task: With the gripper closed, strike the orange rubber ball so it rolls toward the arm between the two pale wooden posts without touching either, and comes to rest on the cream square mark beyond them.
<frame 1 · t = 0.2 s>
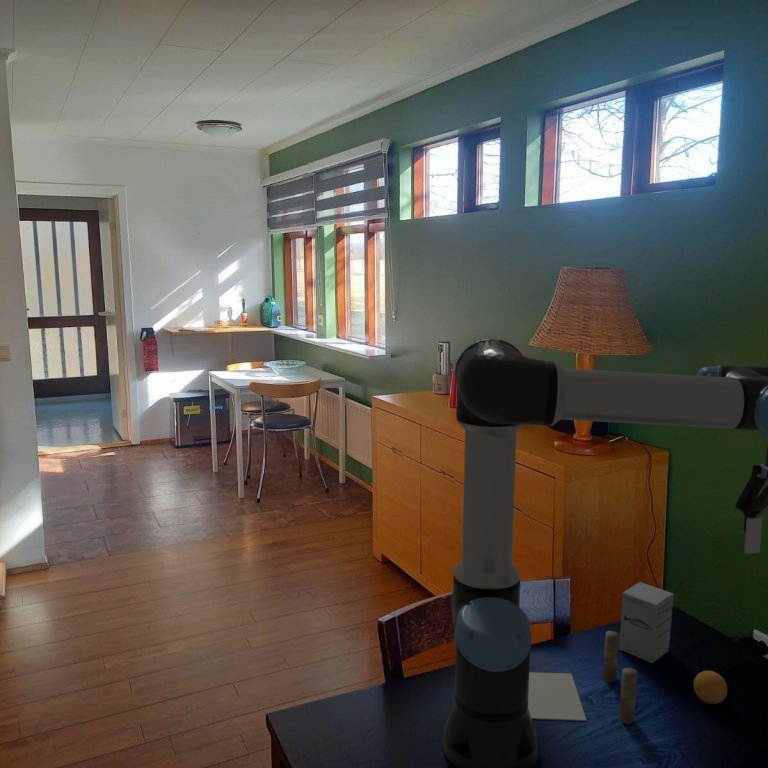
supplement box: (643, 651, 149), on the table
left post: (609, 678, 139), on the table
ball: (710, 687, 132), on the table
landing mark: (539, 695, 134), on the table
right post: (626, 719, 127), on the table
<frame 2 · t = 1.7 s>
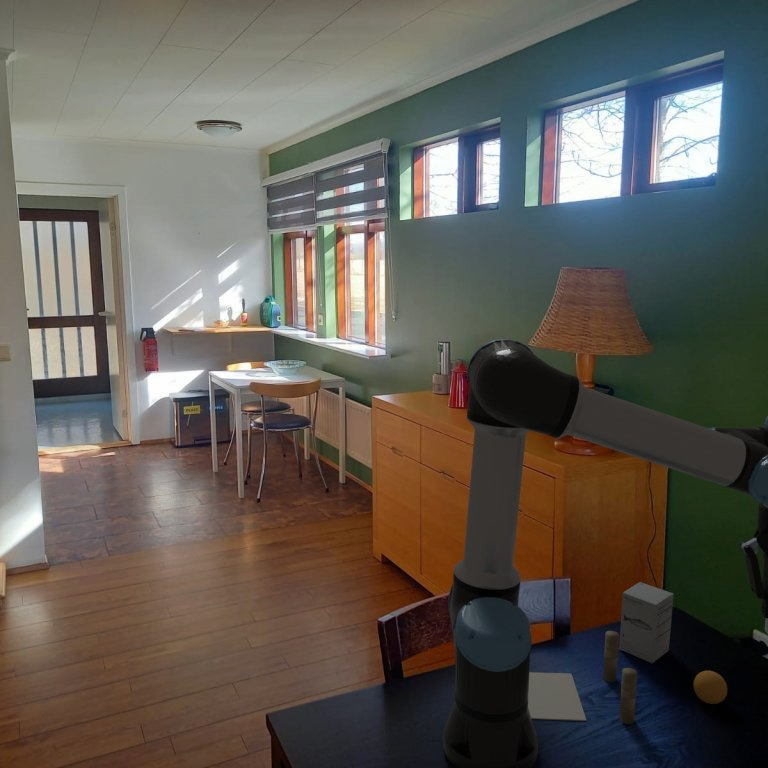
nothing on the table moved.
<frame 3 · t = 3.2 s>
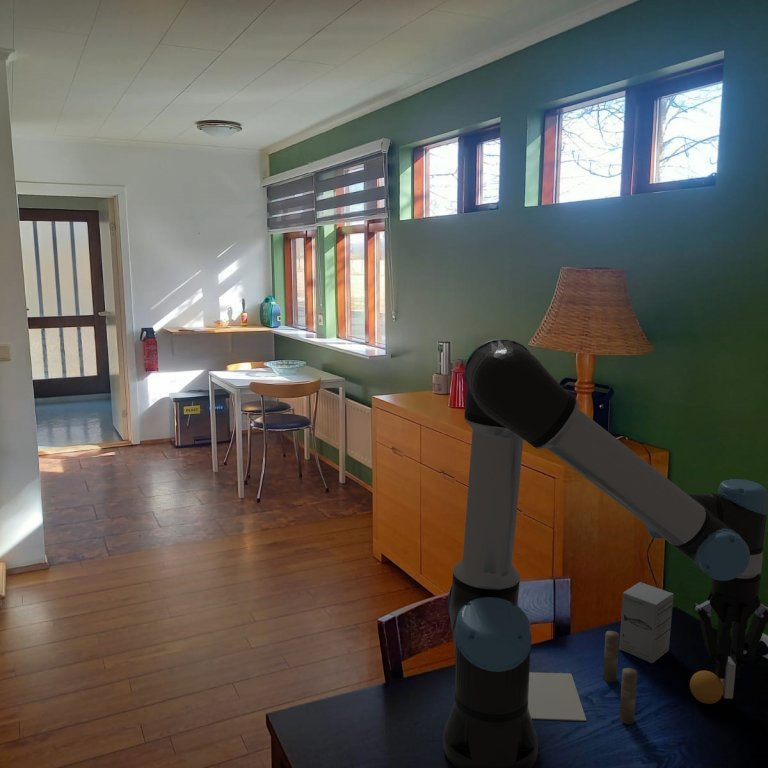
hand: (725, 693, 132), 2 cm above the table, tool pointing down, fingers closed
ball: (706, 687, 132), on the table, touching gripper
everything else where it was.
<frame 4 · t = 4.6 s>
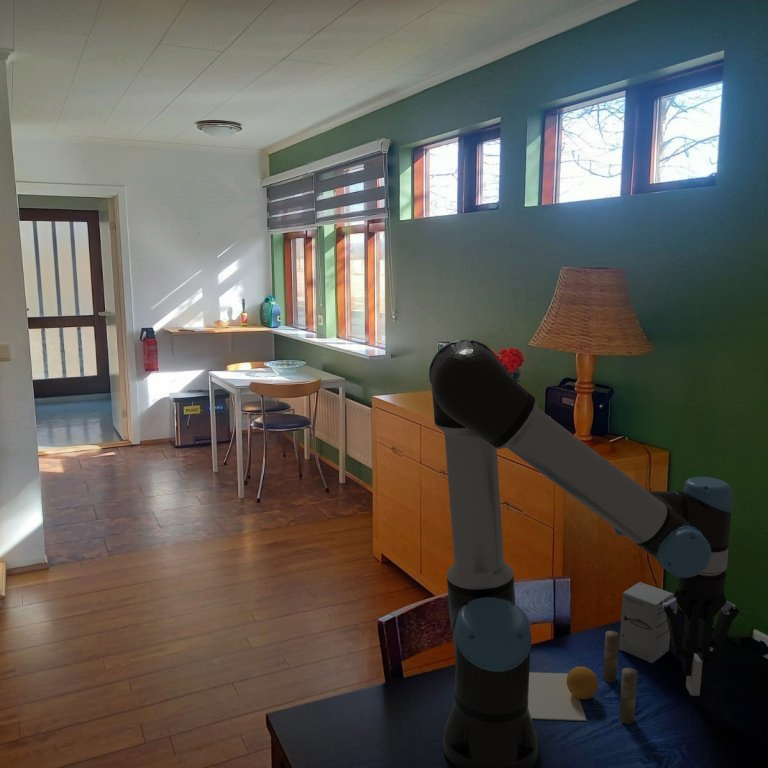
hand: (692, 690, 132), 2 cm above the table, tool pointing down, fingers closed
ball: (582, 682, 133), on the table
everything else where it was.
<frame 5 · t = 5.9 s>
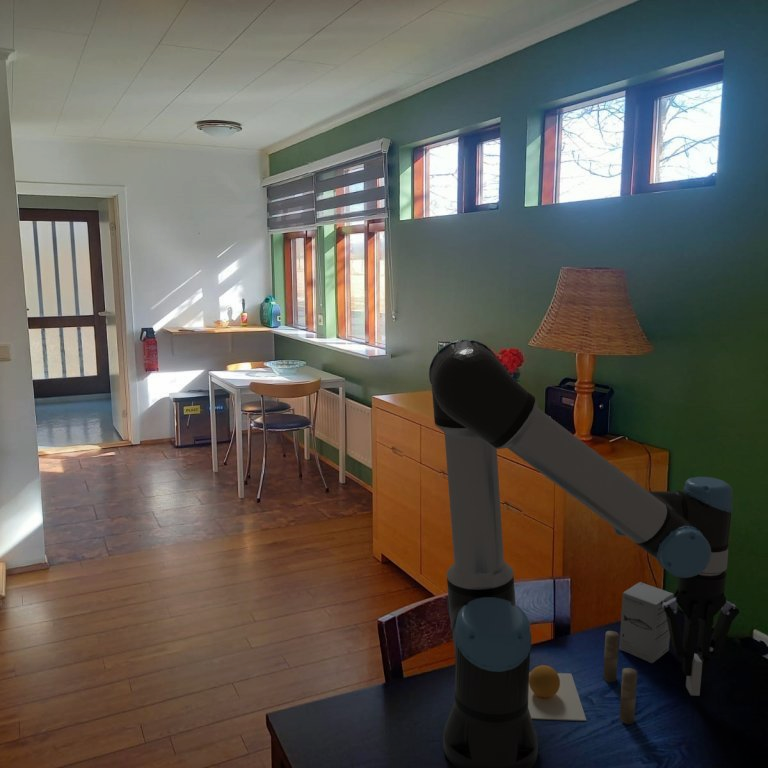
hand: (692, 690, 132), 2 cm above the table, tool pointing down, fingers closed
ball: (544, 681, 134), on the table
everything else where it was.
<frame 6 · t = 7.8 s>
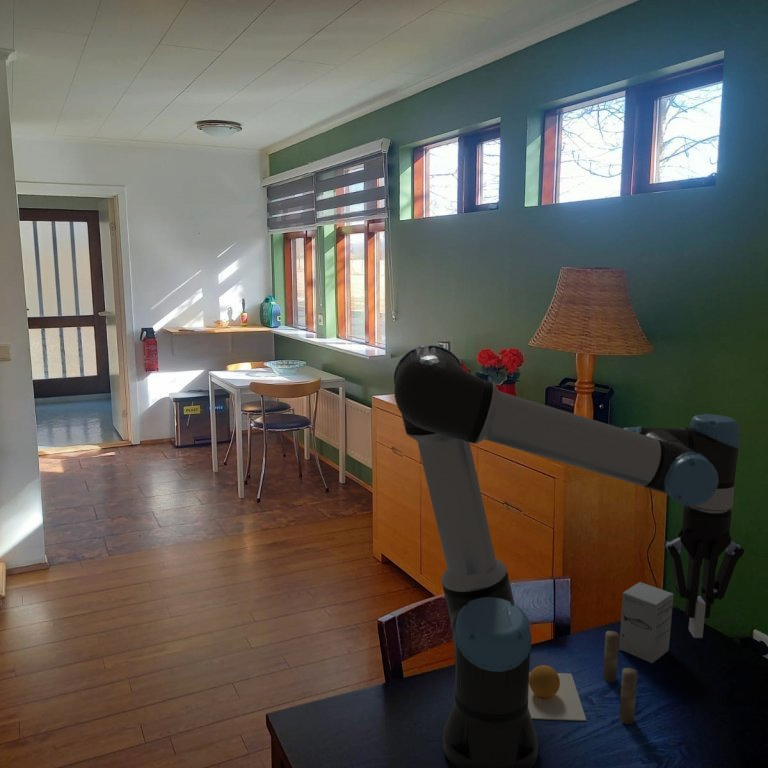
hand: (695, 633, 130), 13 cm above the table, tool pointing down, fingers closed
nothing on the table moved.
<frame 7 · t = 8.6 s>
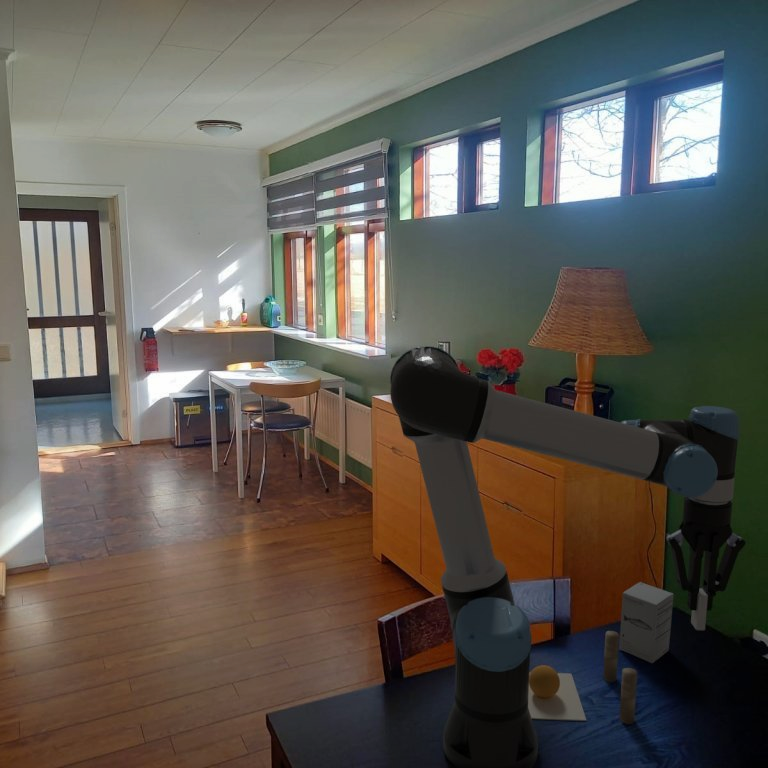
hand: (697, 626, 130), 14 cm above the table, tool pointing down, fingers closed
nothing on the table moved.
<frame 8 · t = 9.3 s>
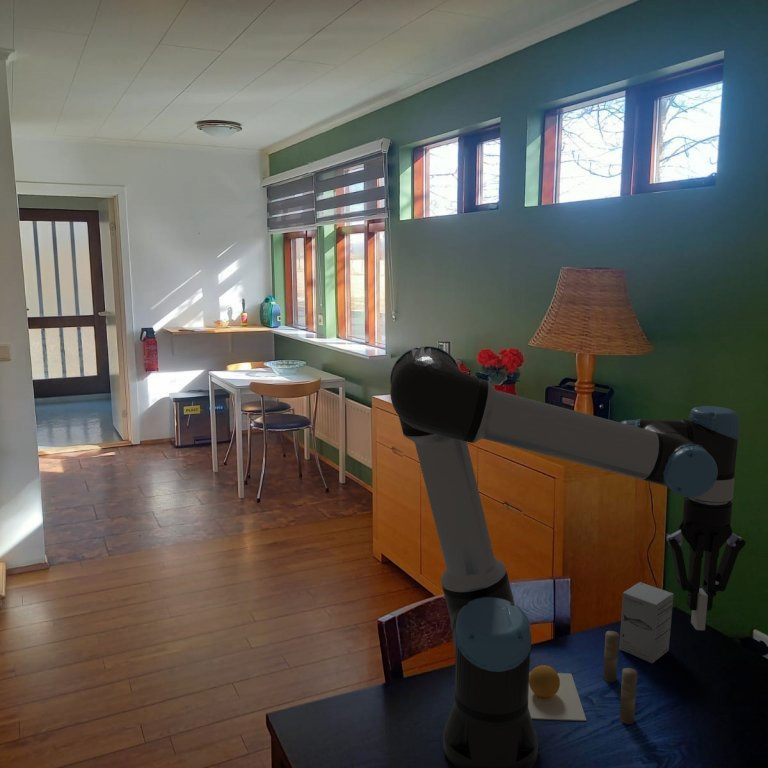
hand: (697, 626, 130), 14 cm above the table, tool pointing down, fingers closed
nothing on the table moved.
at the end: ball 0.8 cm from the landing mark (horizontally); ball never touched left post; ball never touched right post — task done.
